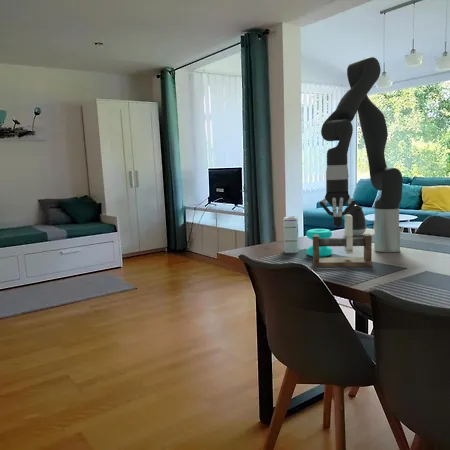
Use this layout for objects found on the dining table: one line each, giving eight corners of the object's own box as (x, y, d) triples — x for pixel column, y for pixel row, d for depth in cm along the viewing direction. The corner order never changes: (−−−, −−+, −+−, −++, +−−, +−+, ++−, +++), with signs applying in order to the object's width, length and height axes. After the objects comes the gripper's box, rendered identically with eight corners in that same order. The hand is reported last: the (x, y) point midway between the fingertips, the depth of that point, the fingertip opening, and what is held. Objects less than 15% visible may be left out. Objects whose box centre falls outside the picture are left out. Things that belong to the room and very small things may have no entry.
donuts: (332, 228, 174) (331, 232, 165) (332, 252, 176) (331, 257, 166) (307, 228, 177) (305, 232, 168) (307, 252, 178) (305, 257, 169)
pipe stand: (368, 261, 158) (368, 232, 156) (372, 266, 150) (372, 236, 149) (312, 261, 161) (312, 233, 160) (313, 266, 153) (313, 237, 152)
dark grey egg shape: (351, 237, 207) (351, 206, 205) (340, 234, 217) (340, 204, 215) (370, 235, 209) (370, 204, 207) (359, 232, 219) (359, 203, 217)
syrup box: (298, 252, 178) (297, 217, 176) (283, 252, 179) (283, 218, 177) (298, 250, 183) (298, 216, 181) (284, 250, 184) (284, 216, 182)
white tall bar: (350, 249, 158) (350, 214, 156) (352, 253, 151) (352, 216, 149) (344, 249, 158) (344, 214, 156) (346, 253, 151) (346, 216, 150)
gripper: (355, 177, 154) (355, 225, 157) (317, 178, 156) (317, 225, 159) (358, 177, 147) (358, 228, 149) (318, 179, 149) (319, 228, 151)
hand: (337, 226), depth 154 cm, fingers closed
